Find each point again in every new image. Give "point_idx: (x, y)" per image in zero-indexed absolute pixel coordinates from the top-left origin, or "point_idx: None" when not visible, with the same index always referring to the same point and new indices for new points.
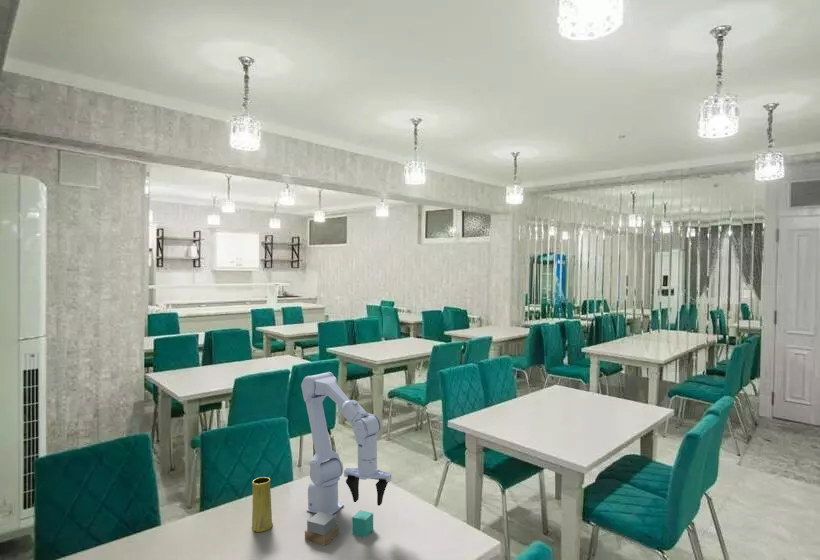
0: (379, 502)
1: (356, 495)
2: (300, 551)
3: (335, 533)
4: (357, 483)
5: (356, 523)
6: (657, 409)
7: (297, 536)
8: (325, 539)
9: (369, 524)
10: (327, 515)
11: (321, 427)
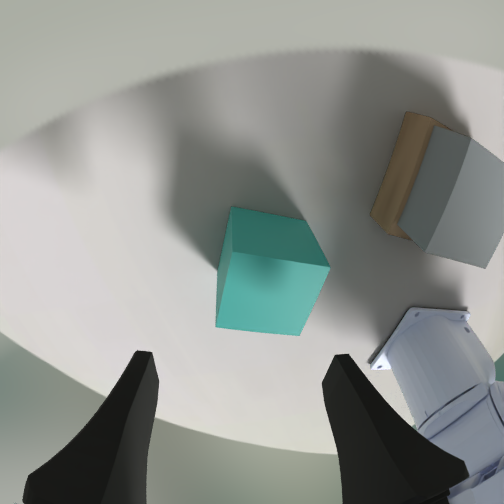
0: (127, 368)
1: (341, 399)
2: (472, 75)
3: (385, 194)
4: (351, 478)
5: (295, 244)
6: None
7: None
8: (419, 119)
9: (223, 264)
10: (461, 242)
11: None
